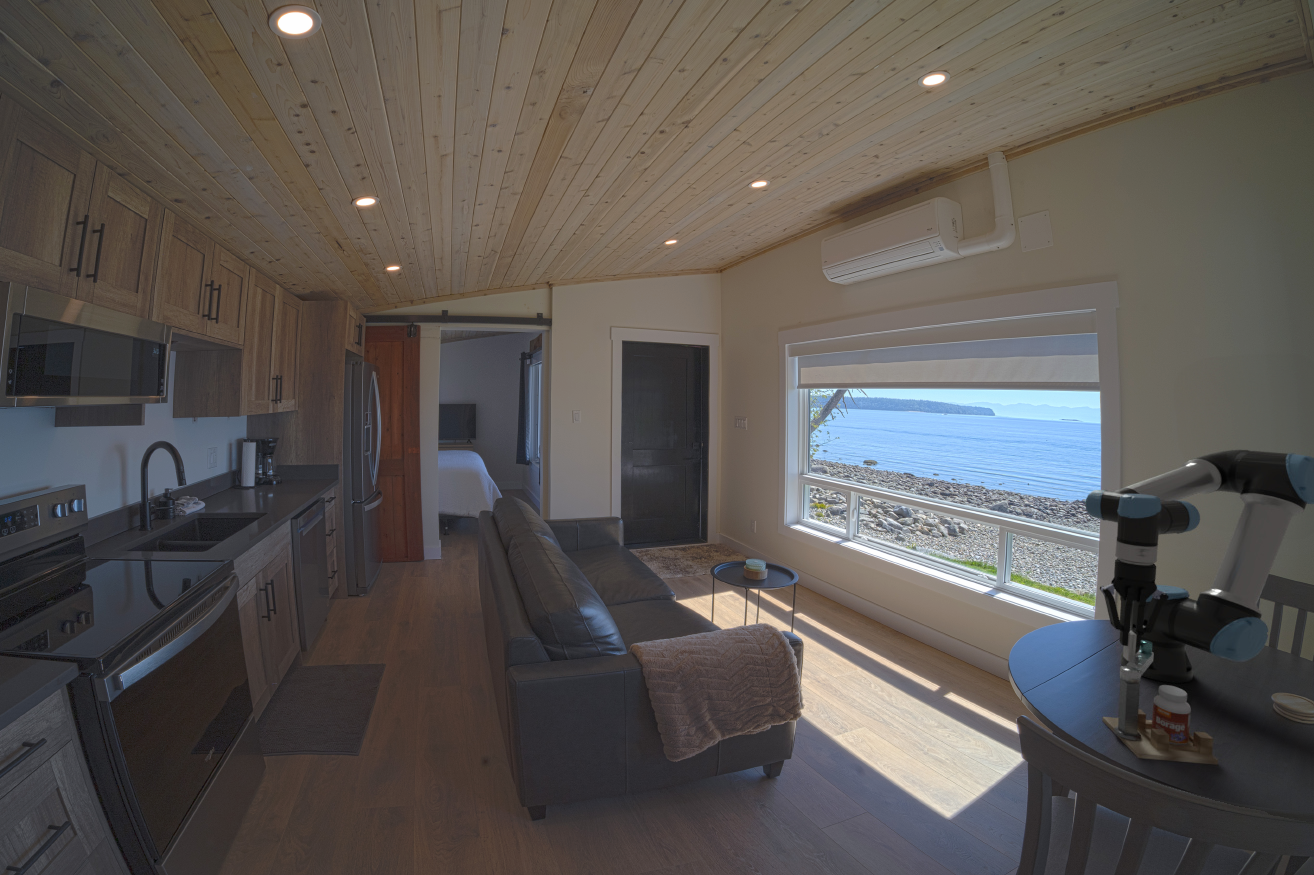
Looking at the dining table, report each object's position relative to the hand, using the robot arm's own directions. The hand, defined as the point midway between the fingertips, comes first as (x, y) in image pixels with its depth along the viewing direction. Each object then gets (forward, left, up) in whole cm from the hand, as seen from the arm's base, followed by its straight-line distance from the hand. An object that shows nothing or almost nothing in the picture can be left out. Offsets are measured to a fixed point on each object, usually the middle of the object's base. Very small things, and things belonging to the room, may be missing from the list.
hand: (1128, 658), depth 140 cm
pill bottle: (-3, +10, -13) cm, 17 cm away
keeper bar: (+1, +5, 0) cm, 6 cm away
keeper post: (+5, +10, -14) cm, 18 cm away
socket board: (-1, +10, -14) cm, 17 cm away
